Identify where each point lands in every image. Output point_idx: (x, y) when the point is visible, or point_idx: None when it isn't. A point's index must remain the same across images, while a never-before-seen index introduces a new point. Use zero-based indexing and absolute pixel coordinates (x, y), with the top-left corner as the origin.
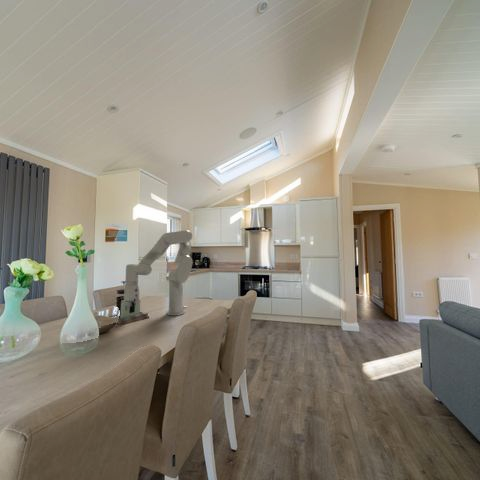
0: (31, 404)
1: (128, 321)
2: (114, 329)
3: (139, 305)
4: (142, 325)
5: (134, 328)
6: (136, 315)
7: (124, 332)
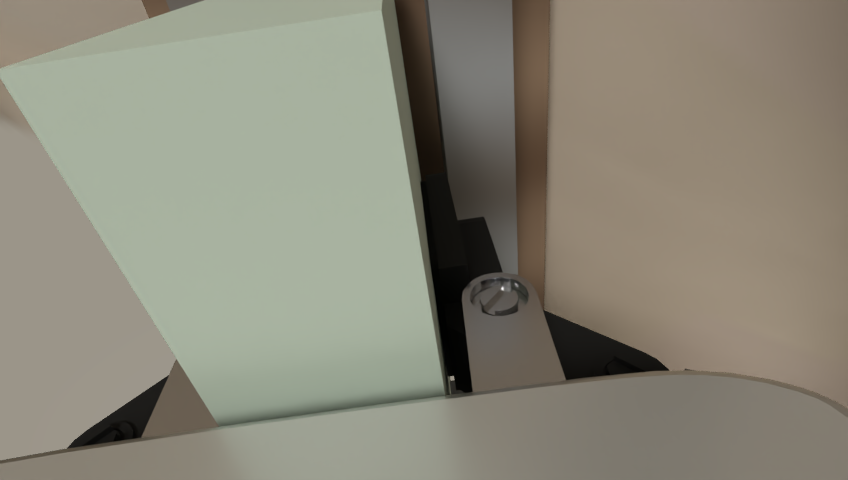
0: None
1: (535, 256)
2: None
3: (392, 13)
4: (818, 156)
5: (797, 277)
6: (492, 113)
7: (786, 377)
